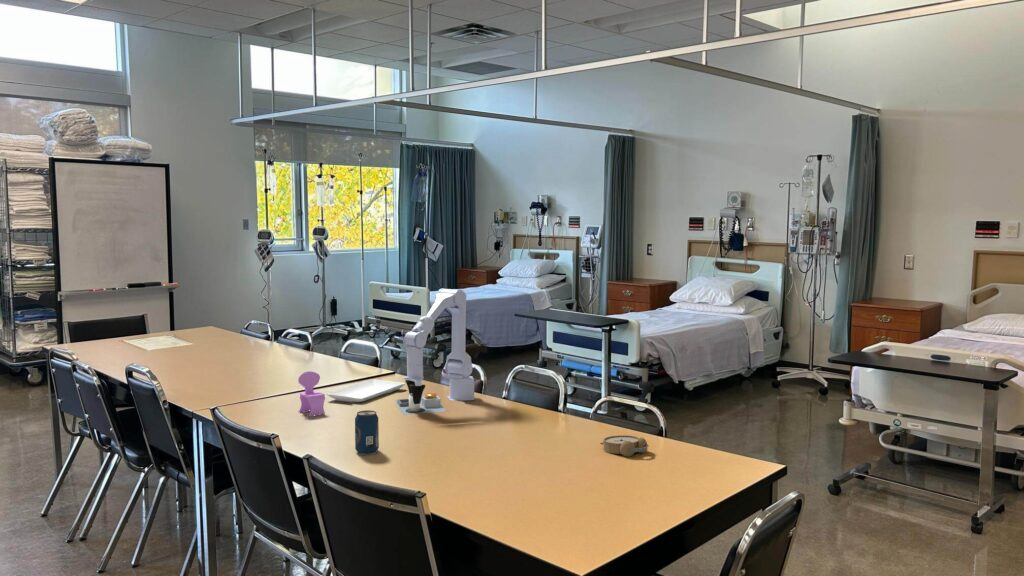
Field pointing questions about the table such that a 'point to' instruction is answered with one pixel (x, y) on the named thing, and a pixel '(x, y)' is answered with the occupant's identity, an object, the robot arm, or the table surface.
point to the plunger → (430, 396)
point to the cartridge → (411, 404)
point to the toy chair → (311, 394)
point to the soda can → (366, 432)
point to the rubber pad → (415, 411)
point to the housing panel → (422, 405)
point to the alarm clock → (624, 445)
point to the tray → (365, 390)
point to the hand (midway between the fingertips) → (415, 401)
